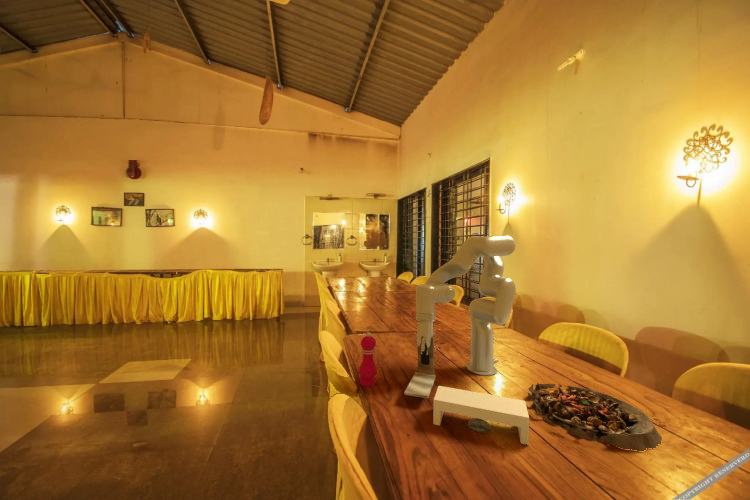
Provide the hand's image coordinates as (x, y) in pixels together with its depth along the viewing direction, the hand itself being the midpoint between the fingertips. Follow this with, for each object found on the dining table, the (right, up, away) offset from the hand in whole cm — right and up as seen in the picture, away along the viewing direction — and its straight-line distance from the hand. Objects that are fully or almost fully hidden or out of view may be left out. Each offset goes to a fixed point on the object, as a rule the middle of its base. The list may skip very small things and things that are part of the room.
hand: (426, 362), depth 119 cm
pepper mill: (-23, -8, 0) cm, 25 cm away
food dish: (+48, -10, -22) cm, 54 cm away
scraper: (-3, -5, -8) cm, 10 cm away
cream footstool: (+11, -9, -27) cm, 31 cm away
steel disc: (+11, -9, -28) cm, 32 cm away
